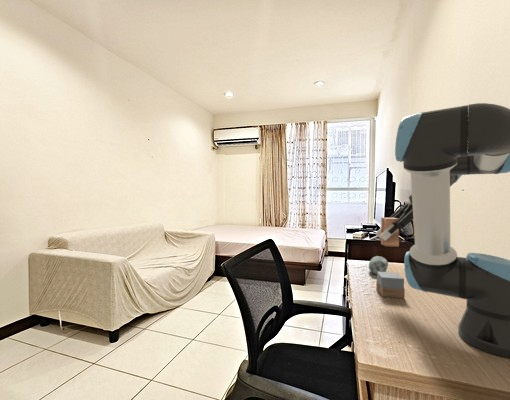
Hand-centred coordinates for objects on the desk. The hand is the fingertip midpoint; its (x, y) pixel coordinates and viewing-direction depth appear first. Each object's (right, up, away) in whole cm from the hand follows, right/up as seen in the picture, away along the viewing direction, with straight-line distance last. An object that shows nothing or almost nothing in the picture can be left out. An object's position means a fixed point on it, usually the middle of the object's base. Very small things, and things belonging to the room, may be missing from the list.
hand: (380, 236), depth 105 cm
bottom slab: (+4, -23, 0) cm, 24 cm away
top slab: (+4, -19, 0) cm, 20 cm away
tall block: (+4, -3, 0) cm, 5 cm away
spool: (+13, -23, +28) cm, 38 cm away
